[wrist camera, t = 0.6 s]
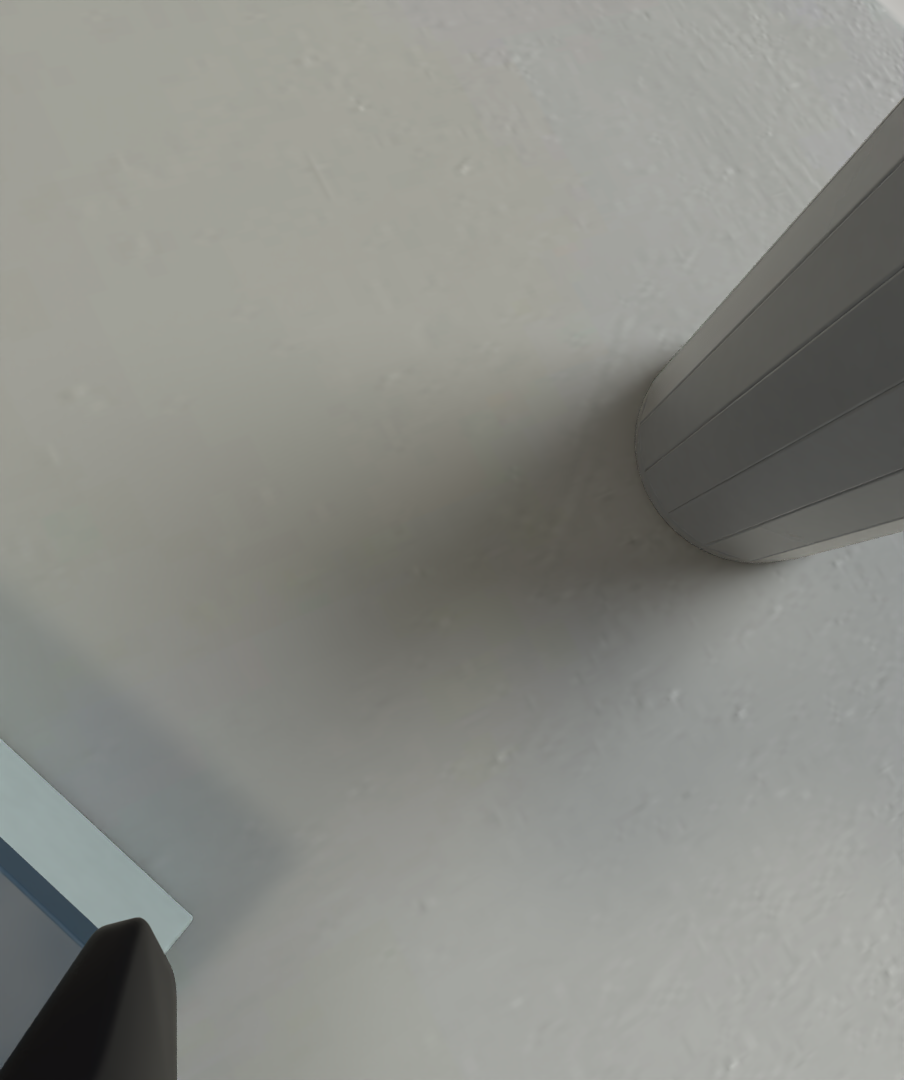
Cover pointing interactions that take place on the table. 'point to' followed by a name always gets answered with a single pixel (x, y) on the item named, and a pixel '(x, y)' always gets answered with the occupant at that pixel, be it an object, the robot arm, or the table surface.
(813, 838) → the table surface
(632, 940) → the table surface
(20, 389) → the table surface
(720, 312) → the cup
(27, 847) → the container
